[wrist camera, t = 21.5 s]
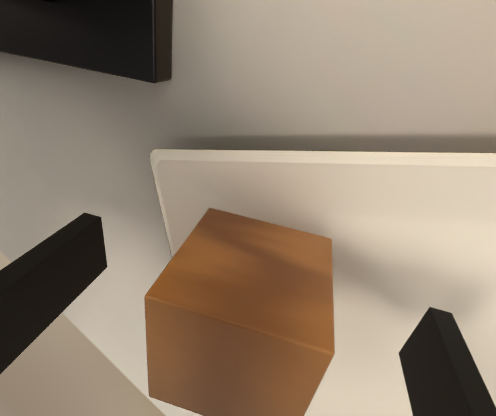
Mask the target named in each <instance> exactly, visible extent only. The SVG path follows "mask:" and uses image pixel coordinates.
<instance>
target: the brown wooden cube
mask: <svg viewBox="0 0 496 416" xmlns="http://www.w3.org/2000/svg"><path fill="white" fill-rule="evenodd" d="M145 319H146V342H147V365H148V388H149V396H150V397H152V398H155V399H158V400H161V401H163V402H166V403H169V404H172V405H175V406H178V407H181V408H183V409H186V410H189V411H192V412H195V413H198V414H200V415H203V416H304V415H305V413H306V411H307V409H308V407H309V405H310V403H311V401H312V399H313V397H314V395H315V393H316V391H317V389H318V387H319V385H320V383H321V381H322V379H323V377H324V374H325V372H326V370H327V368H328V366H329V364H330V362H331V360H332V358H333V356H334V354H335V342H334V300H333V258H332V239H331V238H327V237H323V236H319V235H315V234H311V233H308V232H304V231H300V230H296V229H292V228H288V227H284V226H280V225H276V224H272V223H268V222H264V221H261V220H257V219H253V218H249V217H245V216H241V215H237V214H233V213H229V212H225V211H221V210H217V209H213V208H209V209H208V210H207V211H206V213H205V214H204V216H203V217H202V218H201V220H200V221H199V222H198V224H197V225H196V226H195V228H194V229H193V231H192V232H191V233H190V235H189V236H188V237H187V239H186V240H185V242H184V243H183V244H182V246H181V247H180V248H179V250H178V251H177V252H176V254H175V255H174V257H173V258H172V259H171V261H170V262H169V263H168V265H167V266H166V268H165V269H164V270H163V272H162V273H161V274H160V276H159V277H158V278H157V280H156V281H155V283H154V284H153V285H152V287H151V288H150V289H149V291H148V292H147V294H146V295H145Z"/></svg>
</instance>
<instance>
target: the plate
mask: <svg viewBox="0 0 496 416" xmlns="http://www.w3.org/2000/svg"><path fill="white" fill-rule="evenodd" d="M149 157H150V162H151V166H152V171H153V175H154V179H155V184H156V188H157V193H158V197H159V202H160V206H161V211H162V215H163V220H164V224H165V229H166V233H167V238H168V242H169V246H170V251H171V255H172V258H173V257H174V255H175V254H176V252H177V251H178V250H179V248H180V247H181V246H182V244H183V243H184V242H185V240H186V239H187V237H188V236H189V235H190V233H191V232H192V231H193V229H194V228H195V226H196V225H197V224H198V222H199V221H200V220H201V218H202V217H203V216H204V214H205V213H206V211H207V210H208V209H209V208H213V209H217V210H221V211H225V212H229V213H233V214H237V215H241V216H245V217H249V218H253V219H257V220H261V221H264V222H268V223H272V224H276V225H280V226H284V227H288V228H292V229H296V230H300V231H304V232H308V233H311V234H315V235H319V236H323V237H327V238H331V239H332V258H333V300H334V342H335V354H334V356H333V358H332V360H331V362H330V364H329V366H328V368H327V370H326V372H325V374H324V377H323V379H322V381H321V383H320V385H319V387H318V389H317V391H316V393H315V395H314V397H313V399H312V401H311V403H310V405H309V407H308V409H307V411H306V413H305V415H304V416H413V414H412V409H411V405H410V401H409V396H408V392H407V388H406V383H405V379H404V375H403V370H402V366H401V362H400V357H399V351H400V350H401V349H402V347H403V346H404V344H405V343H406V341H407V340H408V338H409V337H410V335H411V334H412V332H413V331H414V329H415V328H416V326H417V325H418V323H419V322H420V320H421V319H422V317H423V316H424V314H425V313H426V311H427V310H428V308H429V307H432V308H436V309H439V310H443V311H447V312H450V313H452V314H453V316H454V319H455V321H456V323H457V325H458V327H459V329H460V331H461V334H462V336H463V338H464V340H465V342H466V344H467V346H468V349H469V351H470V353H471V355H472V357H473V359H474V361H475V364H476V366H477V368H478V370H479V372H480V374H481V376H482V379H483V381H484V383H485V385H486V387H487V389H488V391H489V394H490V396H491V398H492V400H493V402H494V404H495V406H496V153H430V152H345V151H260V150H175V149H154V150H153V151H152V153H151V154H150V156H149Z"/></svg>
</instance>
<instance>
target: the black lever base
mask: <svg viewBox="0 0 496 416" xmlns="http://www.w3.org/2000/svg"><path fill="white" fill-rule="evenodd" d="M171 13H172V0H0V52H4V53H9V54H14V55H18V56H23V57H28V58H33V59H38V60H43V61H48V62H53V63H58V64H63V65H67V66H72V67H77V68H82V69H87V70H92V71H97V72H102V73H107V74H111V75H116V76H121V77H126V78H131V79H136V80H141V81H146V82H151V83H158V82H163V81H168V80H170V78H171Z"/></svg>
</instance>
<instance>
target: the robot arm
mask: <svg viewBox="0 0 496 416" xmlns="http://www.w3.org/2000/svg"><path fill="white" fill-rule="evenodd" d="M106 268H107V261H106V253H105V245H104V237H103V229H102V221H101V217H99V216H95V215H91V214H88V213H83V214H82V215H80V216H79V217H78V218H76V219H75V220H73V221H72V222H70V223H69V224H67V225H66V226H64V227H63V228H61V229H60V230H59V231H57V232H56V233H54V234H53V235H51V236H50V237H48V238H47V239H45V240H44V241H43V242H41V243H40V244H38V245H37V246H35V247H34V248H32V249H31V250H29V251H28V252H26V253H25V254H24V255H22V256H21V257H19V258H18V259H16V260H15V261H13V262H12V263H10V264H9V265H8V266H6V267H5V268H3V269H2V270H0V374H1V373H2V372H3V371H4V370H5V369H6V368H7V367H8V366H9V365H10V364H11V363H12V362H13V361H14V360H15V359H16V358H17V357H18V356H19V355H20V354H21V353H22V352H23V351H24V350H25V349H26V348H27V347H28V346H29V345H30V344H31V343H32V342H33V341H34V340H35V339H36V338H37V337H38V336H39V335H40V334H41V333H42V332H43V331H44V330H45V329H46V328H47V327H48V326H49V325H50V324H51V323H52V322H53V321H54V320H55V319H56V318H57V317H58V316H59V315H60V314H61V313H62V312H63V311H64V310H65V309H66V308H67V307H68V306H69V305H70V304H71V303H72V302H73V301H74V300H75V299H76V298H77V297H78V296H79V295H80V294H81V293H82V292H83V291H84V290H85V289H86V288H87V287H88V286H89V285H90V284H91V283H92V282H93V281H94V280H95V279H96V278H97V277H98V276H99V275H100V274H101V273H102V272H103V271H104V270H105V269H106ZM399 357H400V362H401V366H402V370H403V375H404V379H405V383H406V388H407V392H408V396H409V401H410V405H411V409H412V414H413V416H496V406H495V404H494V402H493V400H492V398H491V396H490V394H489V391H488V389H487V387H486V385H485V383H484V381H483V379H482V376H481V374H480V372H479V370H478V368H477V366H476V364H475V361H474V359H473V357H472V355H471V353H470V351H469V349H468V346H467V344H466V342H465V340H464V338H463V336H462V334H461V331H460V329H459V327H458V325H457V323H456V321H455V319H454V316H453V314H452V313H450V312H447V311H443V310H439V309H436V308H432V307H429V308H428V310H427V311H426V313H425V314H424V316H423V317H422V319H421V320H420V322H419V323H418V325H417V326H416V328H415V329H414V331H413V332H412V334H411V335H410V337H409V338H408V340H407V341H406V343H405V344H404V346H403V347H402V349H401V350H400V351H399Z"/></svg>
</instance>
